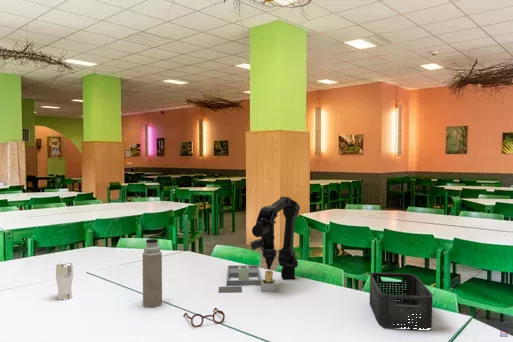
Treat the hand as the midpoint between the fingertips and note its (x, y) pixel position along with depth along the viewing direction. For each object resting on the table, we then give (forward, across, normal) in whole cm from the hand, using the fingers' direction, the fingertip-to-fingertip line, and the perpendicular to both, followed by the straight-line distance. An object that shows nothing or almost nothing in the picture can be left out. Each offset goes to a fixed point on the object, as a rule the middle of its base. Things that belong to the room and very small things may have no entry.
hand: (267, 266), depth 197 cm
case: (+11, -22, -11) cm, 27 cm away
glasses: (+12, +34, -28) cm, 46 cm away
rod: (+10, 0, 0) cm, 10 cm away
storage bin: (+12, +34, +50) cm, 62 cm away
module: (+11, -14, -11) cm, 21 cm away
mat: (+11, -1, -18) cm, 21 cm away
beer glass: (+12, +7, -92) cm, 93 cm away
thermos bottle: (+12, +17, -51) cm, 55 cm away
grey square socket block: (+11, 0, 0) cm, 11 cm away
